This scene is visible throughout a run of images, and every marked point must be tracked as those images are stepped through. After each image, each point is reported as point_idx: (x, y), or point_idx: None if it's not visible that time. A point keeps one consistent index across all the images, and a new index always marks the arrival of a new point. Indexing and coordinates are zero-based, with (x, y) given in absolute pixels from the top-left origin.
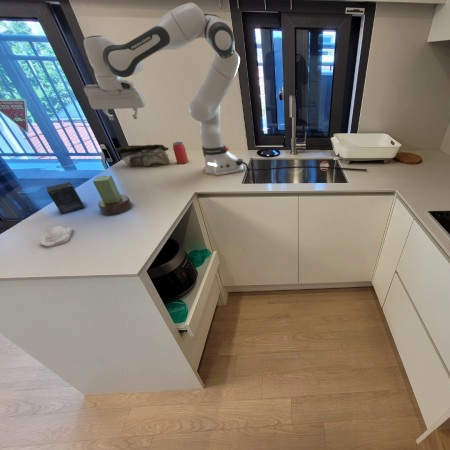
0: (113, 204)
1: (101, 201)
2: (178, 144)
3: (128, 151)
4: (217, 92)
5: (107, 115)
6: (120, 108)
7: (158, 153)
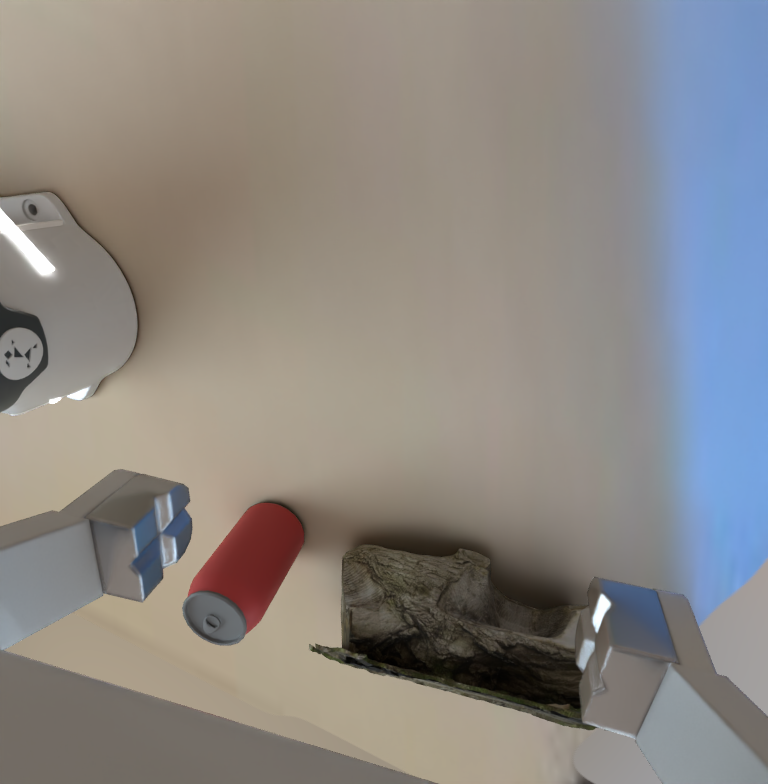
0: None
1: None
2: (205, 591)
3: (562, 693)
4: None
5: (731, 687)
6: (230, 721)
7: (374, 603)
